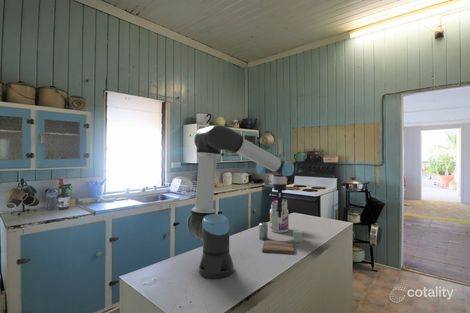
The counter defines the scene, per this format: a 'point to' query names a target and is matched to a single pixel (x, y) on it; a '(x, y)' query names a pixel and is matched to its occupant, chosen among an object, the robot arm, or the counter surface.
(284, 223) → the candy bar box
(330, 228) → the counter surface
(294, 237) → the sage block
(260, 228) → the grey tin
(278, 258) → the counter surface
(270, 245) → the board
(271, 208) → the supplement tub
